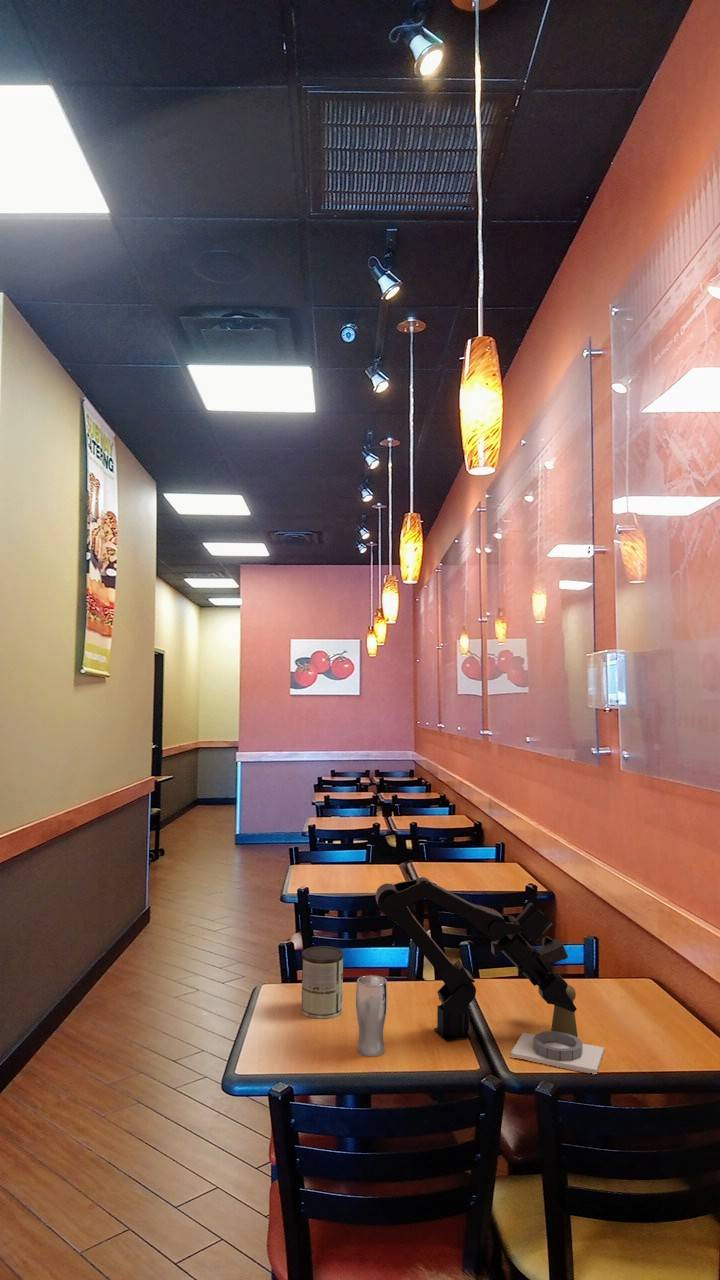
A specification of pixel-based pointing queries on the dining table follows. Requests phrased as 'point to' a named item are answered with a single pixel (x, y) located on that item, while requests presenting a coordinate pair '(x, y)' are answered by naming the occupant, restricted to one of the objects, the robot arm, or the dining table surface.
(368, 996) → the beer glass
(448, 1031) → the robot arm
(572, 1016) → the olive brown pawn
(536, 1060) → the dock
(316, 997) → the coffee can
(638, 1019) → the dining table surface
